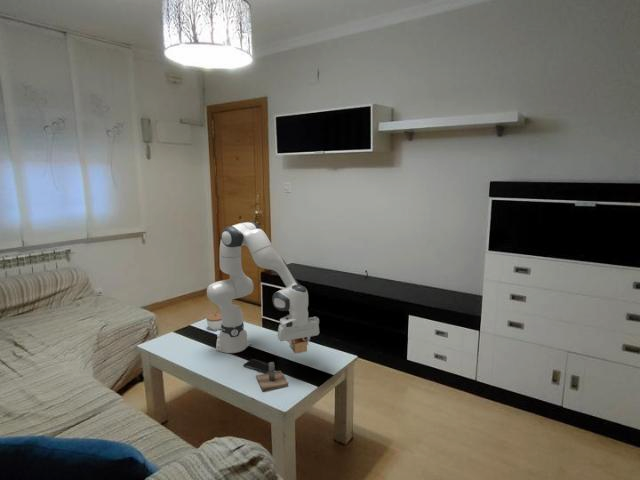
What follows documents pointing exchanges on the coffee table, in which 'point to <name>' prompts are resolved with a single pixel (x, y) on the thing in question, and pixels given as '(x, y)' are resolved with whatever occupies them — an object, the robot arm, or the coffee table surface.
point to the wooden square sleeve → (299, 345)
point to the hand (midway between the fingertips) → (298, 346)
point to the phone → (257, 366)
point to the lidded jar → (214, 321)
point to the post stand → (271, 379)
